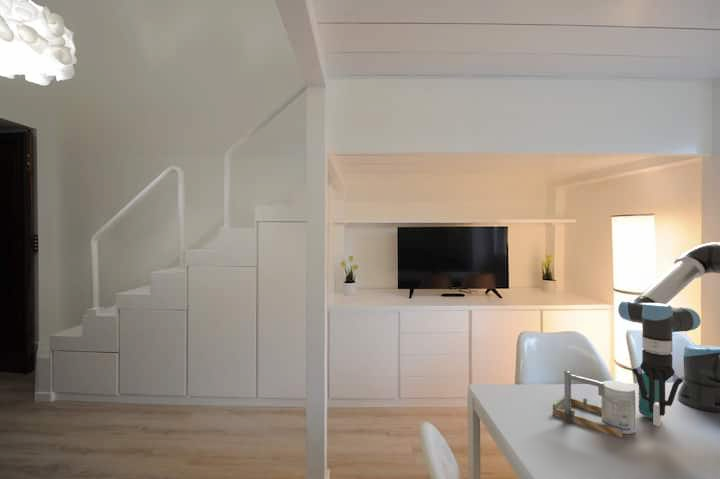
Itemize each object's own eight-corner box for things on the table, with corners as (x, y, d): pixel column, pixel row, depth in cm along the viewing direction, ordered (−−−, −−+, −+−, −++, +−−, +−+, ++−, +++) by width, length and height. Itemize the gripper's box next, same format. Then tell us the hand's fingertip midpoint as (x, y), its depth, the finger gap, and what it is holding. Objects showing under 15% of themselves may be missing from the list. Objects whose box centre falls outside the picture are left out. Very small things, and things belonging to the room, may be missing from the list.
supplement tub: (611, 418, 129) (611, 378, 129) (641, 431, 120) (641, 388, 120) (595, 424, 124) (595, 382, 124) (625, 438, 116) (625, 393, 116)
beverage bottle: (665, 424, 125) (665, 367, 125) (644, 422, 126) (644, 366, 126) (654, 415, 131) (654, 361, 131) (634, 413, 133) (634, 360, 133)
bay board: (632, 423, 125) (632, 411, 125) (621, 438, 115) (621, 426, 115) (567, 402, 141) (567, 392, 141) (552, 414, 131) (552, 404, 131)
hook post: (604, 433, 118) (604, 380, 119) (603, 435, 117) (603, 381, 117) (565, 420, 127) (565, 370, 128) (563, 421, 126) (563, 371, 126)
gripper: (629, 348, 117) (629, 419, 117) (682, 358, 107) (682, 436, 107) (634, 344, 122) (634, 412, 122) (685, 353, 112) (685, 427, 112)
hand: (657, 423), depth 114 cm, fingers closed
